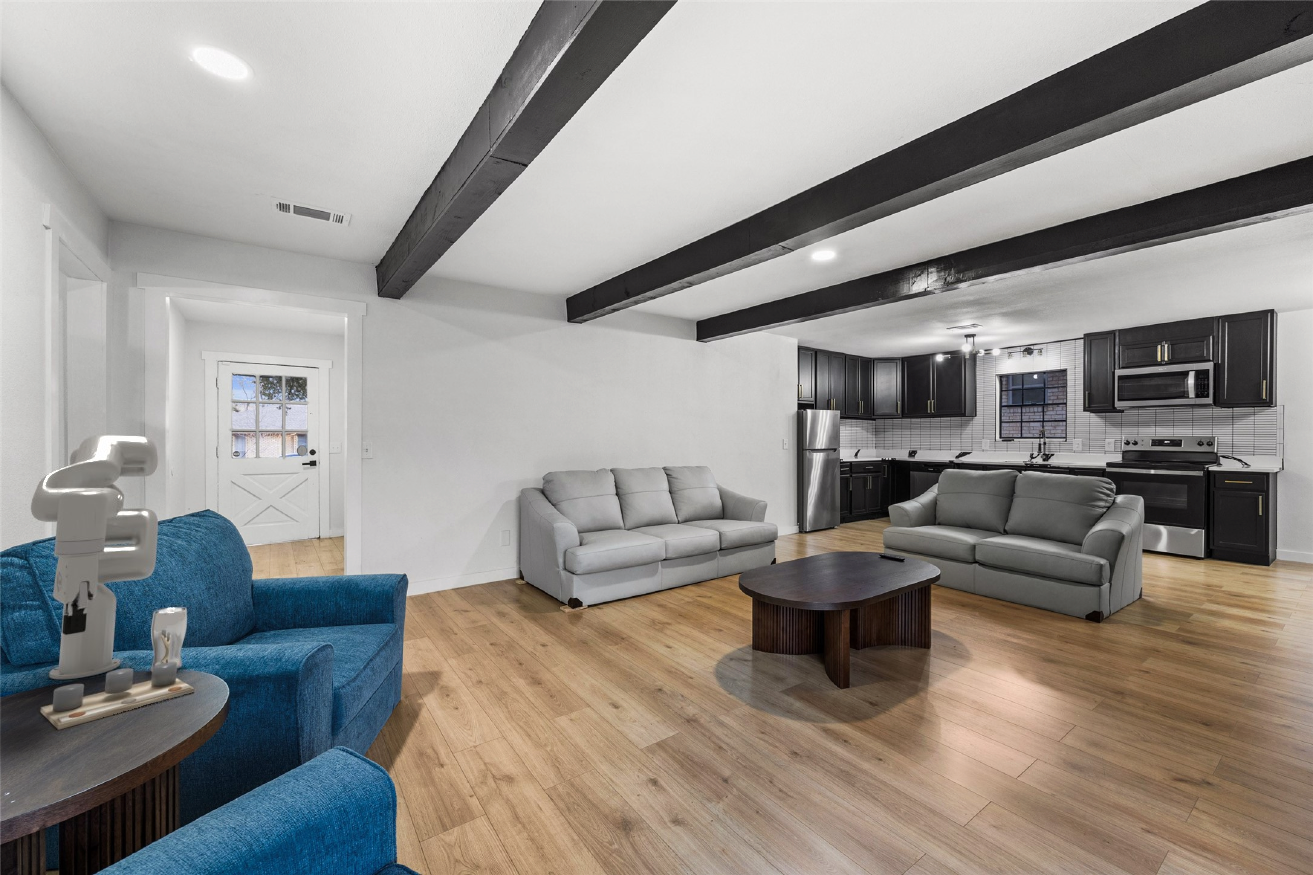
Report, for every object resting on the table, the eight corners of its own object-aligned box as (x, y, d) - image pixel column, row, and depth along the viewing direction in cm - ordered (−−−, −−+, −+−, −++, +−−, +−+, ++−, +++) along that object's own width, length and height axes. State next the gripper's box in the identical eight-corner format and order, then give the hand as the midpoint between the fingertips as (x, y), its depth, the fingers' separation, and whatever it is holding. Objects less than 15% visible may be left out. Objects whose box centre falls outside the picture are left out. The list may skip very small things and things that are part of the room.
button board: (40, 711, 118) (41, 704, 118) (171, 679, 136) (171, 673, 136) (58, 729, 110) (59, 722, 110) (194, 692, 129) (194, 686, 129)
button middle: (102, 690, 124) (103, 672, 124) (128, 684, 127) (129, 666, 128) (108, 695, 121) (109, 676, 122) (134, 688, 125) (136, 670, 125)
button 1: (49, 707, 117) (51, 688, 117) (79, 700, 121) (80, 682, 121) (55, 713, 115) (57, 693, 115) (85, 705, 118) (86, 686, 118)
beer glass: (162, 674, 139) (166, 614, 140) (141, 671, 140) (145, 612, 141) (190, 664, 146) (194, 607, 147) (170, 662, 147) (173, 605, 148)
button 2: (148, 683, 130) (149, 666, 131) (171, 677, 134) (173, 661, 134) (155, 687, 128) (156, 670, 128) (178, 681, 132) (180, 664, 132)
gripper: (46, 545, 120) (39, 630, 119) (65, 553, 112) (58, 644, 111) (93, 542, 127) (87, 622, 126) (115, 549, 119) (108, 634, 118)
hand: (73, 632), depth 119 cm, fingers closed
